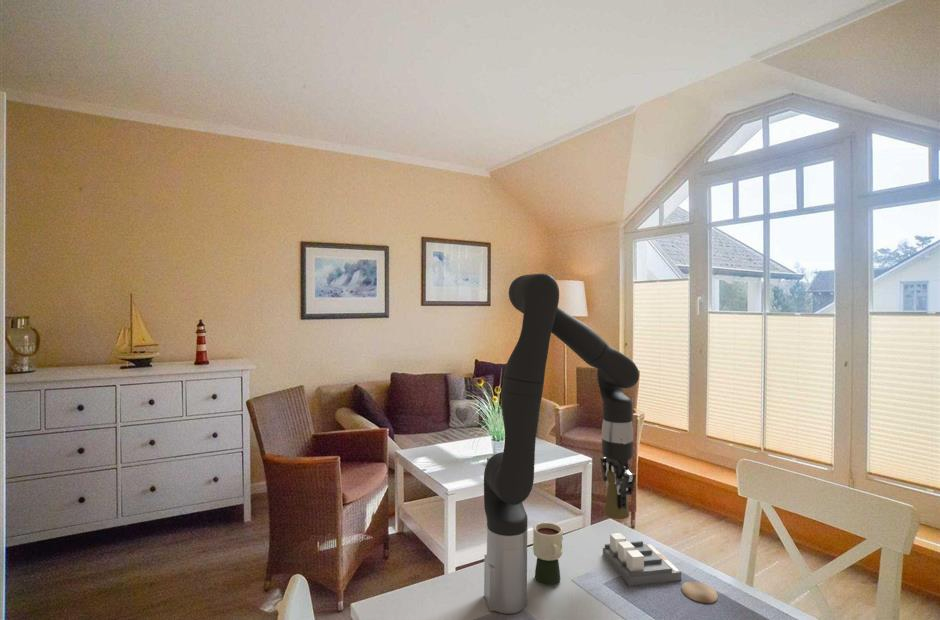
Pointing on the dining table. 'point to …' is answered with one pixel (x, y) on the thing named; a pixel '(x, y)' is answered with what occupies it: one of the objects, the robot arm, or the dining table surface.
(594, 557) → the dining table surface
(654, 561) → the switch panel
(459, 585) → the dining table surface
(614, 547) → the tab back
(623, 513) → the pepper shaker
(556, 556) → the character mug
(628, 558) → the tab front
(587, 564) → the dining table surface
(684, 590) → the cork coaster
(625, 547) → the tab middle
